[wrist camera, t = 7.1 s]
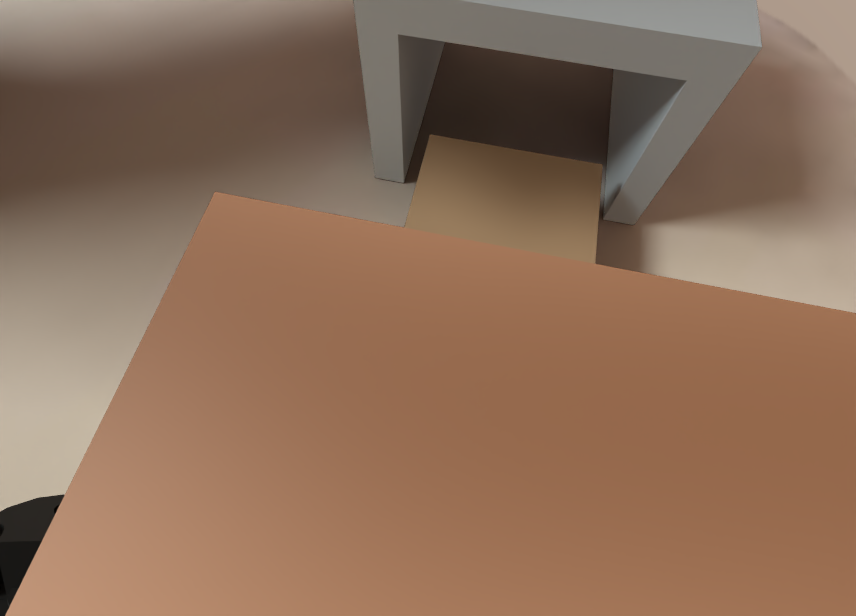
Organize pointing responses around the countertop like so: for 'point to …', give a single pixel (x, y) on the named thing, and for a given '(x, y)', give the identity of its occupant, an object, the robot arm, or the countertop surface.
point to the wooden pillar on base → (460, 424)
